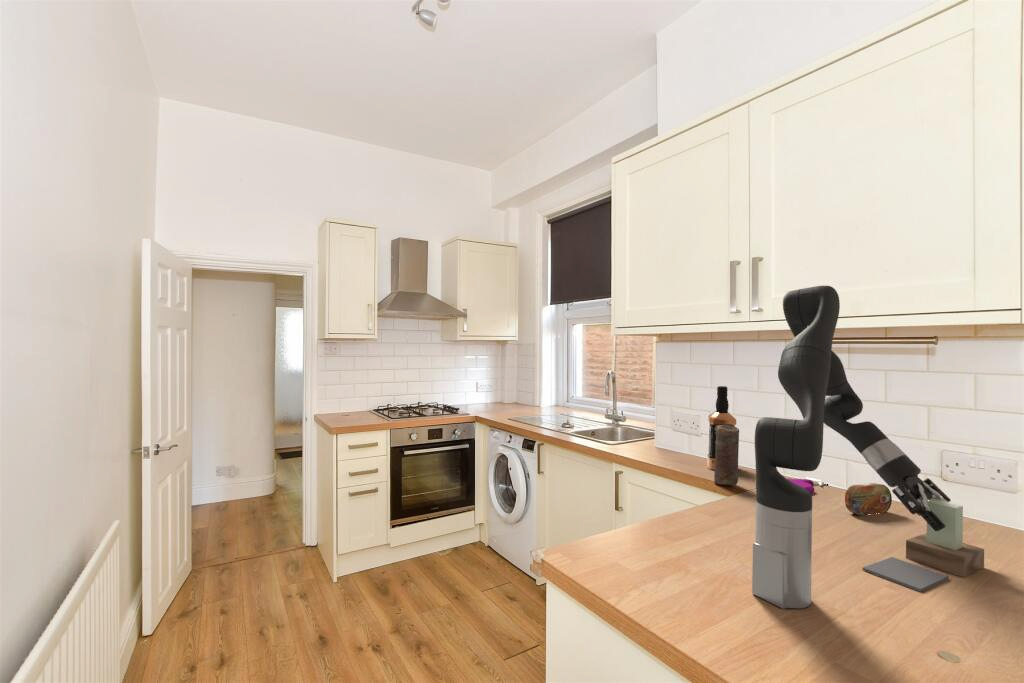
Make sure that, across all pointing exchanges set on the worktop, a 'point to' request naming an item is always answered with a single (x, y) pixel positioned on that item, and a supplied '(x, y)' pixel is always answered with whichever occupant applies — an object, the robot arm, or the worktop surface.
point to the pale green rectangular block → (946, 525)
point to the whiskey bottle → (718, 422)
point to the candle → (726, 455)
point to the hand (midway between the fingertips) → (950, 526)
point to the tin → (868, 499)
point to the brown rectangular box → (945, 556)
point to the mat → (906, 574)
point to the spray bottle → (807, 483)
